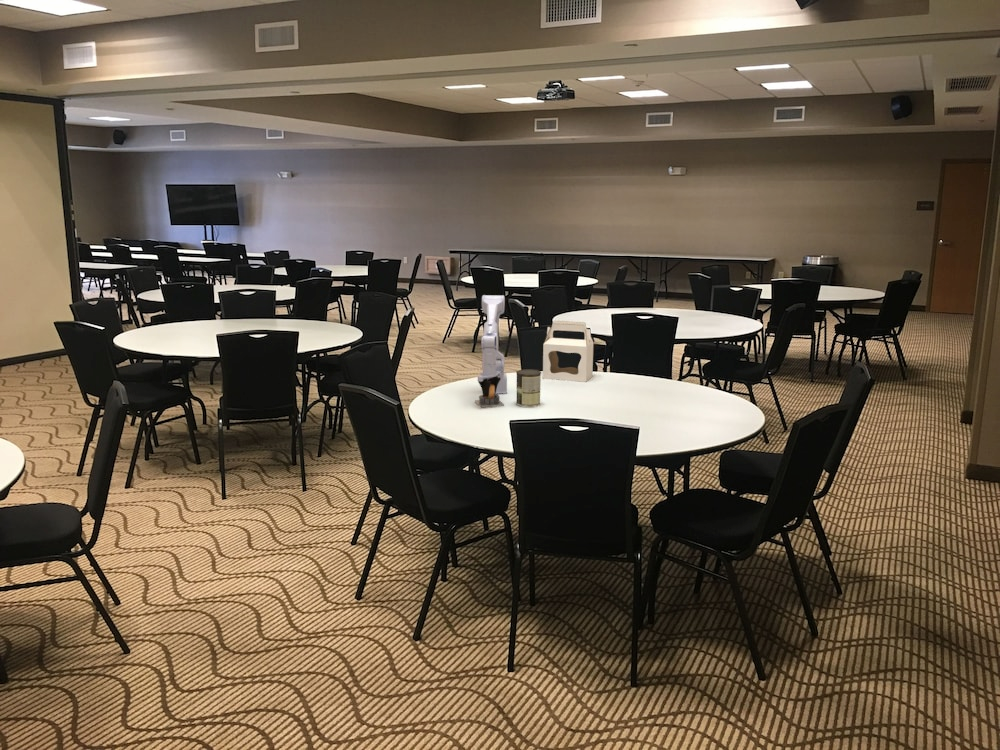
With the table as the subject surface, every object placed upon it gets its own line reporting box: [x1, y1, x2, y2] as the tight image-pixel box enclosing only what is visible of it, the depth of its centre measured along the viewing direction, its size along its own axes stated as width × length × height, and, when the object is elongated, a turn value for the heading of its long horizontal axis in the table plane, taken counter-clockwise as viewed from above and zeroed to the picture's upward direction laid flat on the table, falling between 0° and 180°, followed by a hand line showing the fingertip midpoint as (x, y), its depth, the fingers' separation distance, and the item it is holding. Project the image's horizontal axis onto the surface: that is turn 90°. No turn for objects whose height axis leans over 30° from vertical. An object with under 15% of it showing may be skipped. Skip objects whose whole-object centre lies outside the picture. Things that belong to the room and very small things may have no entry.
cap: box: [484, 384, 496, 398], centre depth 323 cm, size 4×4×6 cm
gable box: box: [542, 320, 594, 383], centre depth 375 cm, size 22×13×28 cm, turn 70°
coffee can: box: [515, 368, 542, 408], centre depth 323 cm, size 10×10×14 cm
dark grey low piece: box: [474, 394, 505, 409], centre depth 323 cm, size 10×10×4 cm
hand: (489, 395), depth 323 cm, fingers closed on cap, 4 cm apart
